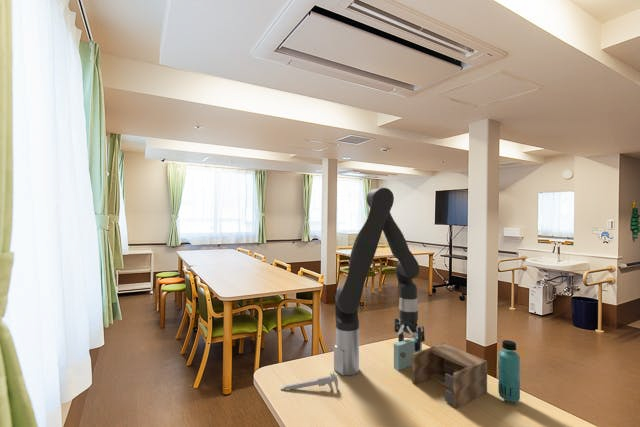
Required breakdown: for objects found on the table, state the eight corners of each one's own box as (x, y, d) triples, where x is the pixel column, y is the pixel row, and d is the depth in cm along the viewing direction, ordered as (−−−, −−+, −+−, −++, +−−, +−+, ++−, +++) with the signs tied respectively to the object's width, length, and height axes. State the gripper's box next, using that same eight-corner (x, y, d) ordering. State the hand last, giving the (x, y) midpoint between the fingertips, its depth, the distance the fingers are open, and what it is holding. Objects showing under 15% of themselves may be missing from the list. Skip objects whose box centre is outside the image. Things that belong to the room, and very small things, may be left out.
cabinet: (455, 408, 103) (455, 374, 103) (412, 383, 118) (412, 353, 118) (487, 392, 113) (487, 360, 113) (443, 370, 128) (443, 343, 128)
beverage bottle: (517, 397, 109) (517, 339, 109) (523, 408, 103) (523, 346, 103) (496, 393, 111) (496, 336, 111) (500, 404, 105) (500, 344, 105)
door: (424, 363, 135) (424, 339, 135) (400, 371, 127) (400, 346, 127) (417, 359, 138) (417, 336, 138) (393, 368, 130) (393, 343, 130)
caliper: (337, 389, 115) (337, 371, 115) (337, 391, 114) (337, 373, 114) (281, 389, 115) (281, 371, 115) (280, 391, 114) (280, 373, 114)
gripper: (389, 305, 137) (390, 343, 137) (415, 314, 125) (416, 356, 125) (402, 302, 141) (402, 339, 141) (428, 311, 129) (429, 351, 129)
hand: (409, 347), depth 133 cm, fingers open, 8 cm apart
